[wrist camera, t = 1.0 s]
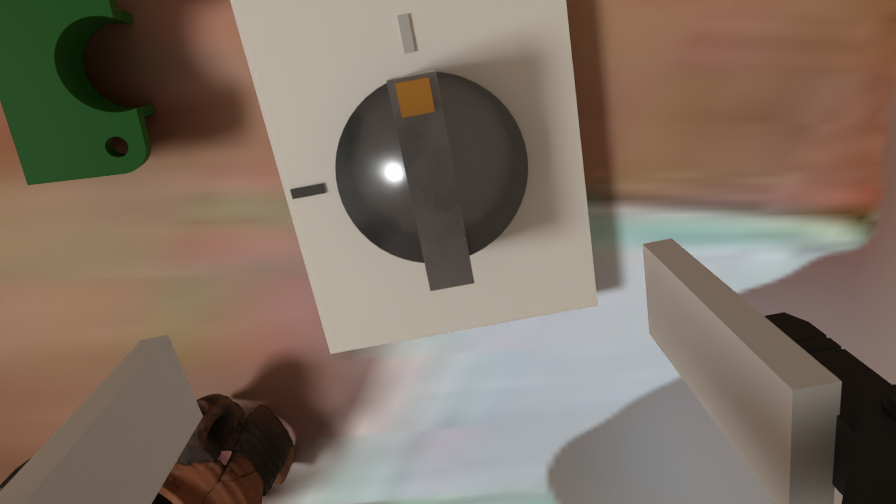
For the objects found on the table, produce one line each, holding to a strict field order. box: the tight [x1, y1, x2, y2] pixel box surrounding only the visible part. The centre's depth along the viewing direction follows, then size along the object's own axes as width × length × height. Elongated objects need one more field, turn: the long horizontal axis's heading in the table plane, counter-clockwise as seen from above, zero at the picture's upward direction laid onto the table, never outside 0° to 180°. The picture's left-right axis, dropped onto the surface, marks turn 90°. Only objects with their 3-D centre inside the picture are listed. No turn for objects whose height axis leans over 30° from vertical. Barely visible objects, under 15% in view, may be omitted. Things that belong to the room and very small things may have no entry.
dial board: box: [230, 0, 598, 354], centre depth 35 cm, size 22×18×2 cm
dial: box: [335, 70, 528, 291], centre depth 31 cm, size 11×11×6 cm
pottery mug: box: [152, 394, 295, 504], centre depth 40 cm, size 12×10×8 cm
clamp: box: [0, 0, 155, 185], centre depth 31 cm, size 12×6×9 cm, turn 178°
